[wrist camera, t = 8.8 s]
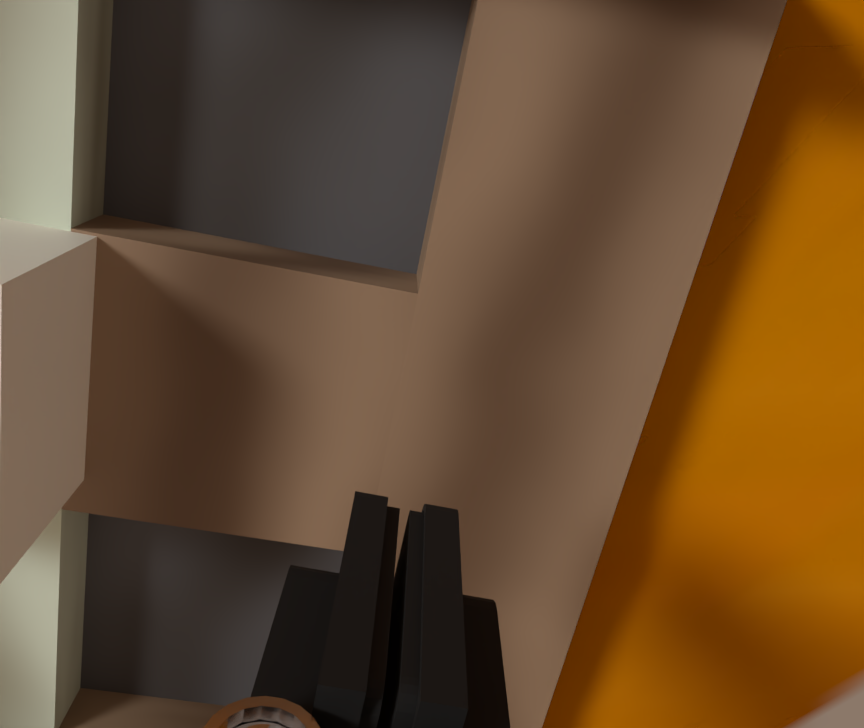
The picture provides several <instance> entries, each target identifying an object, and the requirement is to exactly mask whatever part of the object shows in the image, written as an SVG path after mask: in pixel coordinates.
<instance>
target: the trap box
mask: <svg viewBox="0 0 864 728" xmlns="http://www.w3.org/2000/svg"><path fill="white" fill-rule="evenodd" d="M786 2H787V0H0V218H4V219H9V220H14V221H19V222H25V223H30V224H35V225H40V226H45V227H50V228H55V229H61V230H66V231H71V232H76V233H81V234H86V235H91V236H97V248H96V266H95V285H94V304H93V323H92V341H91V360H90V379H89V398H88V416H87V435H86V454H85V473H84V480H83V482H82V483H81V484H80V485H79V487H78V488H77V489H76V490H75V492H74V493H73V494H72V495H71V497H70V498H69V499H68V500H67V502H66V503H65V504H64V505H63V507H62V508H61V509H60V510H59V512H58V513H57V514H56V515H55V517H54V518H53V519H52V520H51V522H50V523H49V524H48V525H47V527H46V528H45V529H44V530H43V532H42V533H41V534H40V535H39V537H38V538H37V539H36V540H35V542H34V543H33V544H32V545H31V547H30V548H29V549H28V550H27V552H26V553H25V554H24V555H23V557H22V558H21V559H20V560H19V562H18V563H17V564H16V565H15V567H14V568H13V569H12V570H11V572H10V573H9V574H8V575H7V576H6V578H5V579H4V580H3V581H2V583H1V584H0V728H203V727H204V726H205V725H206V723H207V722H208V721H209V720H210V718H211V717H212V716H213V715H214V714H215V713H217V712H218V711H219V710H221V709H222V708H224V707H225V706H227V705H228V704H230V703H233V702H236V701H238V700H241V699H244V698H247V697H251V693H252V690H253V687H254V683H255V680H256V677H257V673H258V670H259V667H260V663H261V660H262V657H263V653H264V650H265V647H266V643H267V640H268V636H269V633H270V630H271V626H272V623H273V620H274V616H275V613H276V610H277V606H278V603H279V600H280V596H281V593H282V590H283V586H284V583H285V580H286V576H287V573H288V570H289V567H290V565H294V566H300V567H306V568H312V569H317V570H323V571H329V572H335V573H339V572H340V567H341V562H342V557H343V551H344V546H345V541H346V536H347V531H348V526H349V521H350V516H351V511H352V505H353V500H354V495H355V491H358V492H363V493H369V494H374V495H380V496H386V497H388V505H387V506H390V507H395V508H400V514H399V526H398V537H397V549H396V561H395V572H396V568H397V563H398V559H399V554H400V550H401V545H402V541H403V537H404V532H405V528H406V523H407V519H408V515H409V512H410V510H412V511H418V512H422V509H423V506H424V504H430V505H436V506H441V507H447V508H452V509H457V510H458V513H459V532H460V552H461V572H462V592H463V595H469V596H474V597H480V598H486V599H492V600H494V601H495V603H496V607H497V613H498V622H499V631H500V640H501V649H502V658H503V666H504V675H505V684H506V693H507V702H508V710H509V719H510V728H542V726H543V723H544V720H545V717H546V714H547V711H548V708H549V705H550V702H551V699H552V696H553V693H554V690H555V687H556V684H557V682H558V679H559V676H560V673H561V670H562V667H563V664H564V661H565V658H566V655H567V652H568V649H569V646H570V643H571V640H572V637H573V634H574V631H575V628H576V625H577V622H578V619H579V616H580V613H581V610H582V607H583V604H584V601H585V598H586V595H587V593H588V590H589V587H590V584H591V581H592V578H593V575H594V572H595V569H596V566H597V563H598V560H599V557H600V554H601V551H602V548H603V545H604V542H605V539H606V536H607V533H608V530H609V527H610V524H611V521H612V518H613V515H614V512H615V509H616V507H617V504H618V501H619V498H620V495H621V492H622V489H623V486H624V483H625V480H626V477H627V474H628V471H629V468H630V465H631V462H632V459H633V456H634V453H635V450H636V447H637V444H638V441H639V438H640V435H641V432H642V429H643V426H644V423H645V420H646V418H647V415H648V412H649V409H650V406H651V403H652V400H653V397H654V394H655V391H656V388H657V385H658V382H659V379H660V376H661V373H662V370H663V367H664V364H665V361H666V358H667V355H668V352H669V349H670V346H671V343H672V340H673V337H674V334H675V331H676V329H677V326H678V323H679V320H680V317H681V314H682V311H683V308H684V305H685V302H686V299H687V296H688V293H689V290H690V287H691V284H692V281H693V278H694V275H695V272H696V269H697V266H698V263H699V260H700V257H701V254H702V251H703V248H704V245H705V242H706V240H707V237H708V234H709V231H710V228H711V225H712V222H713V219H714V216H715V213H716V210H717V207H718V204H719V201H720V198H721V195H722V192H723V189H724V186H725V183H726V180H727V177H728V174H729V171H730V168H731V165H732V162H733V159H734V156H735V153H736V151H737V148H738V145H739V142H740V139H741V136H742V133H743V130H744V127H745V124H746V121H747V118H748V115H749V112H750V109H751V106H752V103H753V100H754V97H755V94H756V91H757V88H758V85H759V82H760V79H761V76H762V73H763V70H764V67H765V64H766V62H767V59H768V56H769V53H770V50H771V47H772V44H773V41H774V38H775V35H776V32H777V29H778V26H779V23H780V20H781V17H782V14H783V11H784V8H785V5H786ZM394 576H395V573H394Z"/></svg>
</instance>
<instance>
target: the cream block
mask: <svg viewBox="0 0 864 728" xmlns="http://www.w3.org/2000/svg"><path fill="white" fill-rule="evenodd" d="M96 248H97V236H91V235H86V234H81V233H76V232H71V231H66V230H61V229H55V228H50V227H45V226H40V225H35V224H30V223H25V222H19V221H14V220H9V219H4V218H0V584H1V583H2V581H3V580H4V579H5V578H6V576H7V575H8V574H9V573H10V572H11V570H12V569H13V568H14V567H15V565H16V564H17V563H18V562H19V560H20V559H21V558H22V557H23V555H24V554H25V553H26V552H27V550H28V549H29V548H30V547H31V545H32V544H33V543H34V542H35V540H36V539H37V538H38V537H39V535H40V534H41V533H42V532H43V530H44V529H45V528H46V527H47V525H48V524H49V523H50V522H51V520H52V519H53V518H54V517H55V515H56V514H57V513H58V512H59V510H60V509H61V508H62V507H63V505H64V504H65V503H66V502H67V500H68V499H69V498H70V497H71V495H72V494H73V493H74V492H75V490H76V489H77V488H78V487H79V485H80V484H81V483H82V482H83V480H84V473H85V454H86V435H87V416H88V398H89V379H90V360H91V341H92V323H93V304H94V285H95V266H96Z"/></svg>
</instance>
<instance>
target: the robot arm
mask: <svg viewBox="0 0 864 728" xmlns="http://www.w3.org/2000/svg"><path fill="white" fill-rule="evenodd" d="M387 505H388V497H386V496H380V495H374V494H369V493H363V492H358V491H355V495H354V500H353V505H352V511H351V516H350V521H349V526H348V531H347V536H346V541H345V546H344V551H343V557H342V562H341V567H340V572H339V573H335V572H329V571H323V570H317V569H312V568H306V567H300V566H294V565H290V567H289V570H288V573H287V576H286V580H285V583H284V586H283V590H282V593H281V596H280V600H279V603H278V606H277V610H276V613H275V616H274V620H273V623H272V626H271V630H270V633H269V636H268V640H267V643H266V647H265V650H264V653H263V657H262V660H261V663H260V667H259V670H258V673H257V677H256V680H255V683H254V687H253V690H252V693H251V697H247V698H244V699H241V700H238V701H236V702H233V703H230V704H228V705H227V706H225V707H224V708H222V709H221V710H219V711H218V712H217V713H215V714H214V715H213V716H212V717H211V718H210V720H209V721H208V722H207V723H206V725H205V726H204V727H203V728H510V719H509V710H508V702H507V693H506V684H505V675H504V666H503V658H502V649H501V640H500V631H499V622H498V613H497V607H496V603H495V601H494V600H492V599H486V598H480V597H474V596H469V595H463V592H462V572H461V552H460V532H459V513H458V510H457V509H452V508H447V507H441V506H436V505H430V504H424V506H423V509H422V512H418V511H412V510H410V512H409V515H408V519H407V523H406V528H405V532H404V537H403V541H402V545H401V550H400V554H399V559H398V563H397V568H396V572H395V561H396V549H397V537H398V526H399V514H400V508H395V507H390V506H387ZM394 573H395V576H394Z"/></svg>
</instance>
